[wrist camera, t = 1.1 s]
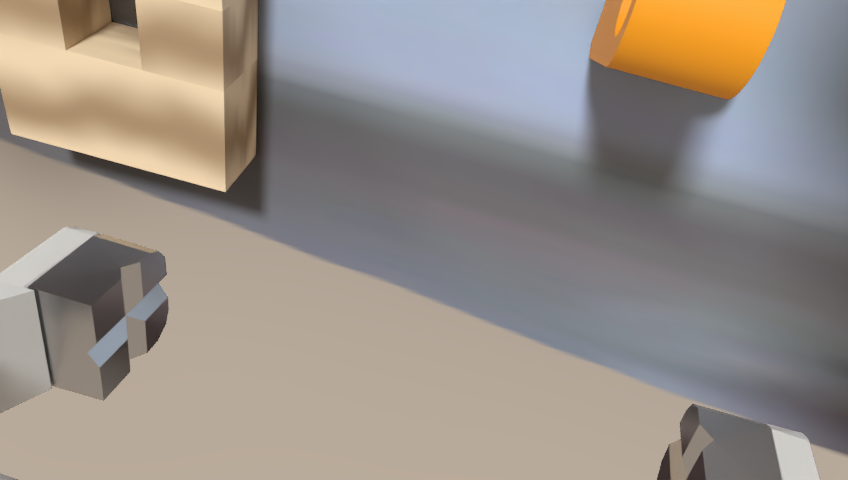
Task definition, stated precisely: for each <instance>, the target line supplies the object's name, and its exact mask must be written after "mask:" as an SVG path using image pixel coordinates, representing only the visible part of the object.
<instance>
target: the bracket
mask: <svg viewBox="0 0 848 480" xmlns="http://www.w3.org/2000/svg"><path fill="white" fill-rule="evenodd" d="M785 2H786V0H606V2H605V5H604V8H603V11H602V14H601V17H600V19H599V22H598V25H597V28H596V31H595V34H594V37H593V39H592V42H591V48H590V59H592V60H594V61H596V62H598V63H600V64H601V65H603V66H605V67H608V68H612V69H616V70H619V71H623V72H627V73H630V74H634V75H638V76H642V77H645V78H649V79H653V80H656V81H660V82H664V83H667V84H671V85H675V86H679V87H682V88H686V89H690V90H693V91H697V92H701V93H704V94H708V95H712V96H715V97H719V98H723V99H731V98H733V97H734V96H736V95H737V94H738V93H739V92H740V91H741V90H742V89H743V88H744V86H745V85H746V84H747V83H748V81H749V80H750V78H751V77H752V75H753V74H754V72H755V71H756V69H757V67H758V65H759V64H760V62H761V60H762V58H763V56H764V54H765V52H766V50H767V48H768V46H769V44H770V42H771V40H772V37H773V35H774V33H775V30H776V28H777V25H778V23H779V20H780V17H781V14H782V11H783V8H784V5H785Z"/></svg>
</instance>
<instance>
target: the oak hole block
mask: <svg viewBox="0 0 848 480" xmlns="http://www.w3.org/2000/svg"><path fill="white" fill-rule="evenodd" d="M135 3H136V13H137V24H138V28H135V27H131V26H127V25H123V24H119V23H115V22H112V20H111V12H110V4H109V0H0V88H1V92H2V96H3V100H4V105H5V109H6V113H7V117H8V122H9V126H10V130H11V134H14V135H18V136H21V137H25V138H29V139H32V140H36V141H40V142H43V143H47V144H51V145H54V146H58V147H62V148H65V149H69V150H73V151H76V152H80V153H84V154H87V155H91V156H95V157H98V158H102V159H106V160H109V161H113V162H117V163H120V164H124V165H128V166H131V167H135V168H139V169H142V170H146V171H150V172H153V173H157V174H161V175H164V176H168V177H172V178H175V179H179V180H183V181H186V182H190V183H194V184H197V185H201V186H205V187H208V188H212V189H216V190H219V191H223V192H226V191H227V190H228V189H229V188H230V186H231V185H232V184H233V183H234V181H235V180H236V179H237V178H238V176H239V175H240V174H241V173H242V172H243V170H244V169H245V168H246V167H247V165H248V164H249V163H250V162H251V161H252V159H253V158H254V157H255V156H256V118H257V48H258V0H135Z"/></svg>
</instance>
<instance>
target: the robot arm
mask: <svg viewBox="0 0 848 480" xmlns="http://www.w3.org/2000/svg"><path fill="white" fill-rule="evenodd" d="M166 275H167V272H166V263H165V257H164V256H163V255H162V254H161V253H160V252H159V251H156V250H153V249H149V248H147V247H143V246H140V245H137V244H134V243H131V242H127V241H124V240H121V239H117V238H114V237H111V236H108V235H104V234H99V233H97V232H93V231H90V230H87V229H84V228H80V227H77V226H70V227H64V228H63V229H61V230H60V231H59V232H57V233H56V234H55V235H53V236H52V237H50V238H49V239H48V240H46V241H45V242H43V243H42V244H40V245H39V246H38V247H36V248H35V249H34V250H32V251H31V252H29V253H28V254H26V255H25V256H24V257H22V258H21V259H19V260H18V261H17V262H15V263H14V264H12V265H11V266H10V267H8V268H7V269H5V270H4V271H3V272H1V273H0V413H2V412H3V411H6V410H8V409H10V408H12V407H14V406H16V405H19V404H21V403H23V402H25V401H27V400H29V399H31V398H33V397H35V396H37V395H40V394H42V393H44V392H46V391H48V390H50V389H52V386H55V387H58V388H62V389H65V390H69V391H72V392H76V393H79V394H83V395H86V396H90V397H93V398H96V399H100V400H105V399H106V397H107V396H108V395H109V394H110V393H111V392H112V391H113V390H114V389H115V388H116V387H117V385H118V384H119V383H120V382H121V381H122V380H123V379H124V378H125V377H126V376H127V374H128V373H129V372H130V359H132V358H135V357H137V356H140V355H143V354H145V353H148V351H149V350H150V349H151V348H152V347H153V345H154V344H155V343H156V342H157V341H158V339H159V337H160V335H161V333H162V331H163V328H164V327H165V325H166V320H167V314H168V296H167V295H166V294H165V292H164V291H163V289H162V288H161V286H160V285H159V282H160V281H161V280H162V279H163V278H164V277H165V276H166ZM680 432H681V439H680V440H678V441H676V442H674V443H672V444H669V446H668V448H667V451H666V453H665V455H664V458H663V459H662V462H661V466H660V470H659V474H658V477H657V480H820V477H819V474H818V470H817V467H816V463H815V460H814V456H813V453H812V450H811V446H810V442H809V439H808V438H807V437H806V436H805V435H804V434H803V433H800V432H797V431H793V430H789V429H785V428H781V427H778V426H774V425H770V424H762V423H759V422H756V421H752V420H749V419H745V418H741V417H738V416H734V415H731V414H727V413H724V412H720V411H716V410H713V409H709V408H706V407H702V406H698V405H695V404H692V405H691V406H690V407H689V408H688V409H687V411H686V412H685V414H684V416H683V418H682V420H681V422H680ZM0 480H18V479H15V478H12V477H9V476H6V475H3V474H0Z"/></svg>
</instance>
